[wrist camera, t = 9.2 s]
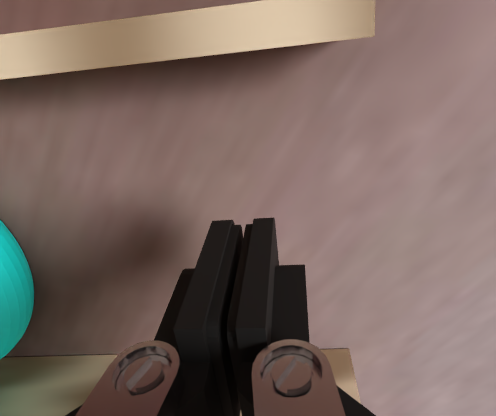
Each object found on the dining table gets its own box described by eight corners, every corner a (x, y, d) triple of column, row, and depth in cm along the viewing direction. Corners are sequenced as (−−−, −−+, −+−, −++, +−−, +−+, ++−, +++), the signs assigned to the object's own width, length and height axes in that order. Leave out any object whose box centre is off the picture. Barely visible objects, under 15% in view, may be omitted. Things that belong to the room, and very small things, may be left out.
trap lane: (349, -4, 11) (394, -22, 7) (348, 365, 18) (372, 480, 13) (-315, 82, 14) (-592, 108, 10) (-111, 374, 20) (-222, 472, 16)
